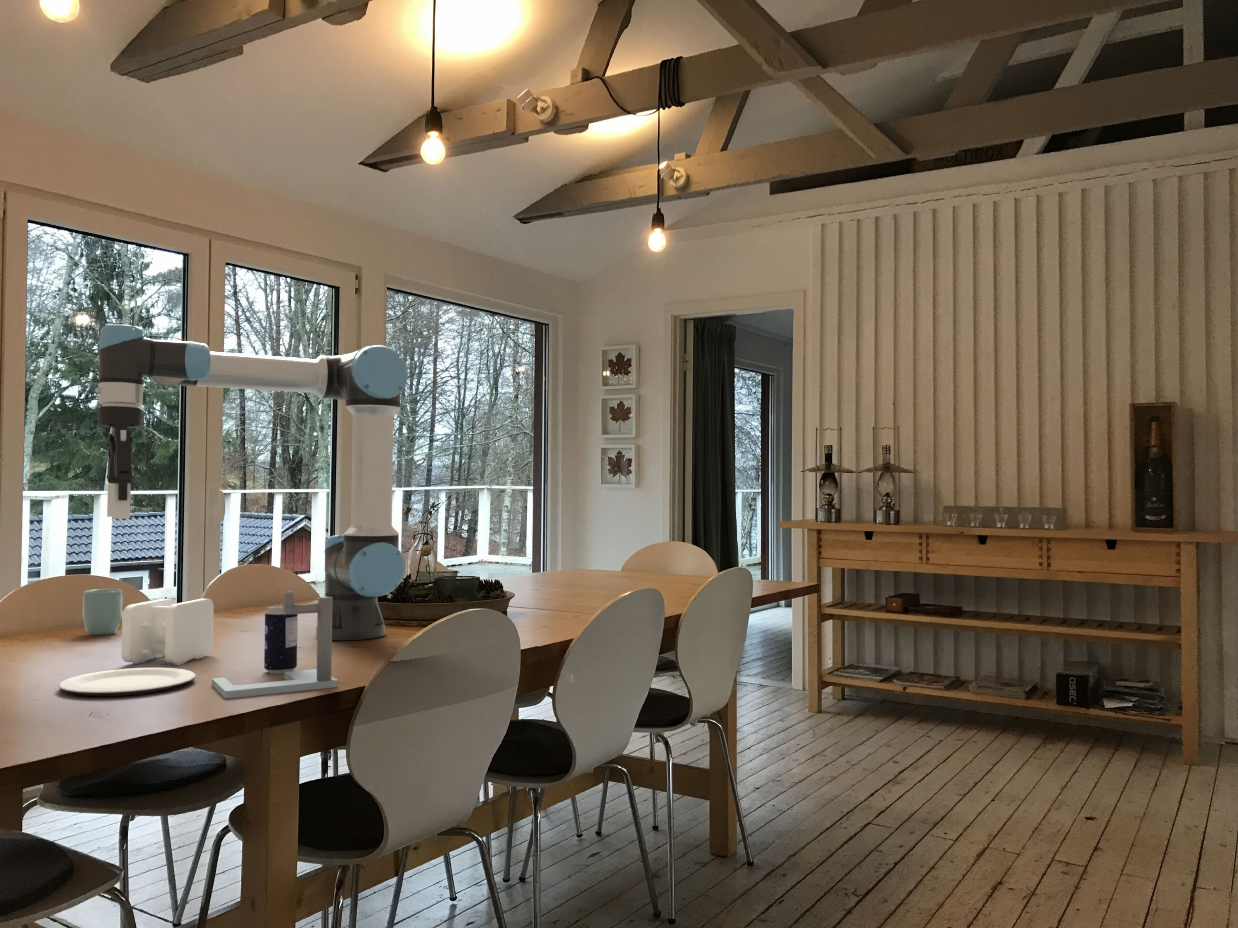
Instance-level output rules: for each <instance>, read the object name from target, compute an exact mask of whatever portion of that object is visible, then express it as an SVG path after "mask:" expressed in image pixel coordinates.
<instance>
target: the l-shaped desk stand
mask: <svg viewBox="0 0 1238 928" xmlns="http://www.w3.org/2000/svg"><path fill="white" fill-rule="evenodd" d="M283 605H284V612H285V613H286V614H288V615H290V614H298V615H304V614H316V613H317V617H316V618H317V620H316V621H317V622H316V623H317V624H316V628H317V637H316V638H317V640H316V668H312V669H303V670H302V669H301V670H293V671H288V672H284V675H283V677H284V678H283V679H284V680H279V681H278V680H277V681H276V680H275V681H267V682H257V683H247V684H237V685H234V684H233V683H231V682H230V681H229V680H228V679H227V678H226V677H215V678H212V679H211V687H213V688H214V689H215V690H216V691H217V692H218V693H219V695H221V696H222V697H223V698H224V699H225V700H227V699H237V698H245V697H246V698H247V697H255V696H265V695H275V694H285V693H292V692H293V693H294V692H295V693H296V692H302V691H304V692H305V691H314V690H321V689H322V690H323V689H331V688H338V687H339V685H338V684H339V681H338V679H337V678H335V677H333V676H332V664H333V663H332V660H333V659H332V656H333V655H332V652H333V640H332V597H325V596H319V597H317V602H316V603H314V602H313V603H302V604H301V603H299V604H295V594H294V592H293V591H291V590H288V591H285V592H284V594H283Z"/></svg>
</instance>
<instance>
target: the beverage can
mask: <svg viewBox="0 0 1238 928" xmlns="http://www.w3.org/2000/svg"><path fill="white" fill-rule="evenodd" d="M298 615H299V614H290V615H288V614H286V613H285V612H284V604H276V605H275V604H274V605H268V606H267V610H266V611H265V614H264V660H263V661H264V662H263V667H264V670H266V671H267V672H268V673H269V674H272V675H283V674H284V672H288V671H294V669H296V668H297V666H298Z"/></svg>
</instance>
